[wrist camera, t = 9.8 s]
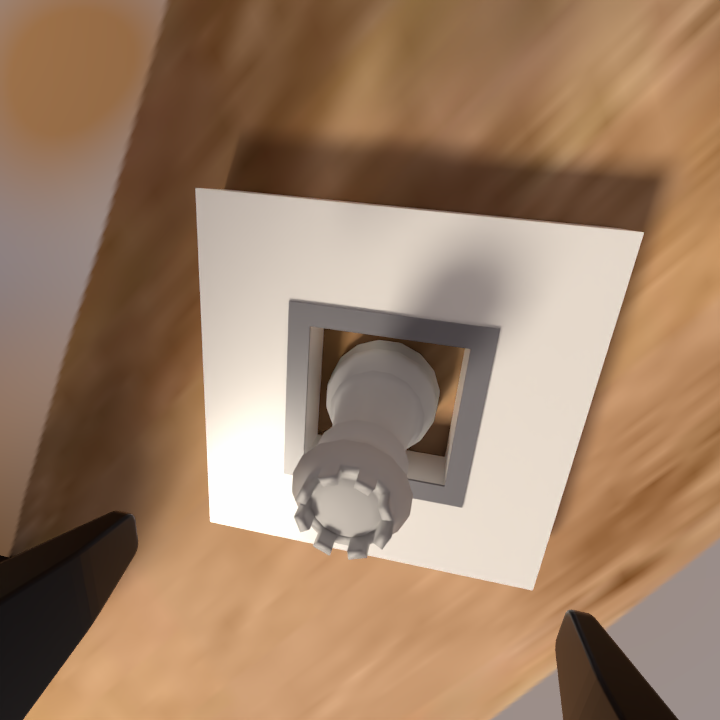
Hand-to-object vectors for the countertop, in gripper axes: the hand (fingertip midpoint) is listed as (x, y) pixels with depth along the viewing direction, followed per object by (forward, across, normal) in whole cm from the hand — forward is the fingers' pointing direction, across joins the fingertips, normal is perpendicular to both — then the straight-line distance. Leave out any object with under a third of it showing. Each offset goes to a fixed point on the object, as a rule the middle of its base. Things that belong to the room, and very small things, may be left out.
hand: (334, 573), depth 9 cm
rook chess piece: (+10, 0, 0) cm, 10 cm away
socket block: (+10, 0, 0) cm, 10 cm away
